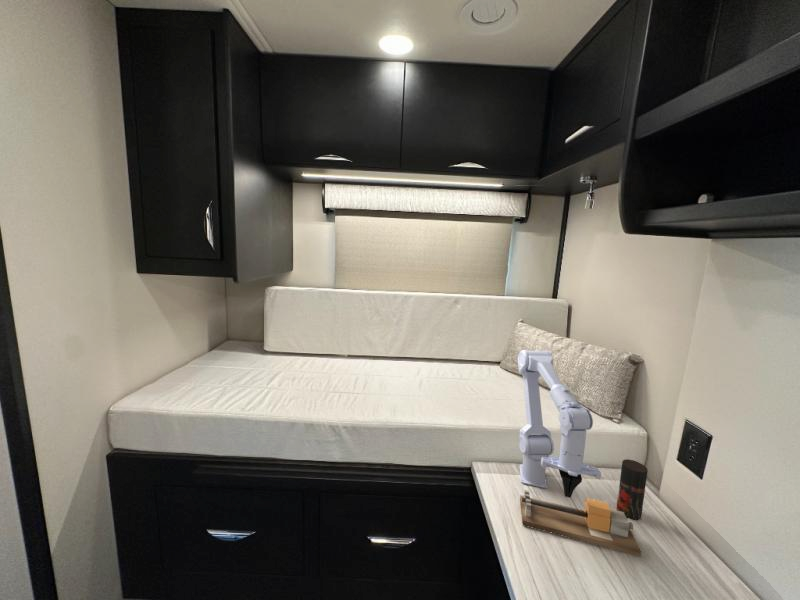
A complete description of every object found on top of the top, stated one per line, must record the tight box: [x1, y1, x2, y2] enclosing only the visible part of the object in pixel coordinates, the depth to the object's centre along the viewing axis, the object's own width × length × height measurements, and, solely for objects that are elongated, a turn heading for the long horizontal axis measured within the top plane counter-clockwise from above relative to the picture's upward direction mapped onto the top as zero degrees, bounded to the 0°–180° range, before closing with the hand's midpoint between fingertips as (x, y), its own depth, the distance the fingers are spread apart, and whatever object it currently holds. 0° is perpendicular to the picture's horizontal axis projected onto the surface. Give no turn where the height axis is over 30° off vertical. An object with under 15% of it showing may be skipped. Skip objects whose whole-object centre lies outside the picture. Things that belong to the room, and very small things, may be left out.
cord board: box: [519, 490, 642, 557], centre depth 86 cm, size 10×28×6 cm, turn 72°
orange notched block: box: [584, 497, 611, 533], centre depth 84 cm, size 4×5×6 cm
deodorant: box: [616, 458, 649, 521], centre depth 91 cm, size 6×6×15 cm
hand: (567, 494), depth 86 cm, fingers closed
